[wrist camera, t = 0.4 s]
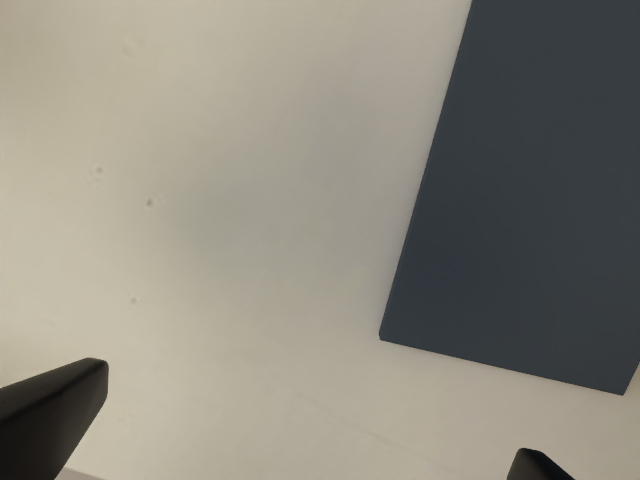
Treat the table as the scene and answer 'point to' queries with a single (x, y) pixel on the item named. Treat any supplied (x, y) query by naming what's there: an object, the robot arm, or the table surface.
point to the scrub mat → (532, 198)
